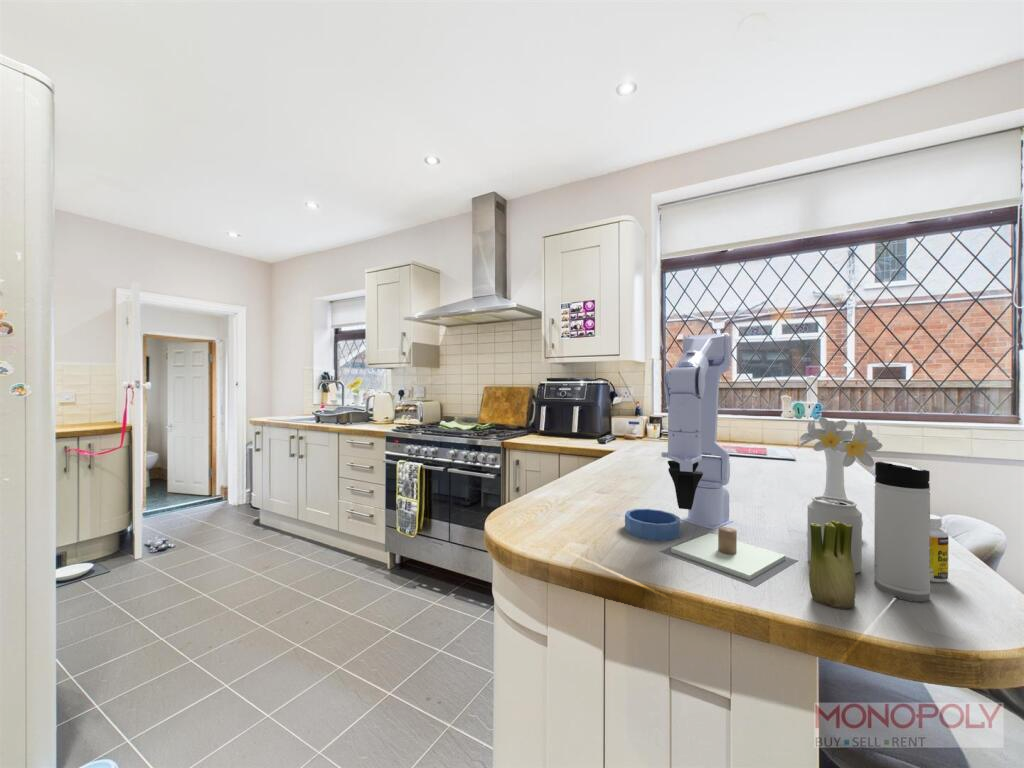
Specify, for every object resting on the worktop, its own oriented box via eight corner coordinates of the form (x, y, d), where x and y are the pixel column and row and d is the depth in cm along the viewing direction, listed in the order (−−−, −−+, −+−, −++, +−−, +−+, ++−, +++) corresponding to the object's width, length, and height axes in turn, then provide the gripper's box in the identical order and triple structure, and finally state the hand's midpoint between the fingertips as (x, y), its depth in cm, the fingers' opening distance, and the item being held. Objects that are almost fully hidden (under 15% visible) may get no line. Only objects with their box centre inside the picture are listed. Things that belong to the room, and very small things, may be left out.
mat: (706, 535, 88) (706, 533, 88) (798, 562, 75) (798, 560, 75) (659, 553, 78) (659, 551, 78) (755, 589, 64) (755, 586, 64)
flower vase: (837, 551, 80) (838, 421, 80) (782, 520, 99) (782, 415, 99) (909, 553, 79) (909, 422, 79) (840, 522, 98) (840, 416, 98)
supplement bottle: (943, 587, 66) (943, 522, 66) (897, 573, 71) (897, 513, 71) (952, 578, 69) (952, 516, 69) (907, 566, 74) (907, 508, 74)
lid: (709, 536, 86) (710, 513, 86) (785, 559, 75) (785, 533, 75) (671, 552, 78) (671, 526, 78) (749, 580, 67) (749, 550, 67)
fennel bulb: (810, 607, 60) (810, 523, 60) (804, 592, 64) (805, 514, 64) (861, 617, 57) (862, 530, 57) (852, 601, 61) (852, 520, 61)
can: (870, 581, 68) (870, 507, 68) (815, 573, 70) (815, 502, 70) (850, 563, 75) (851, 496, 75) (801, 557, 77) (801, 492, 77)
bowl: (645, 522, 97) (646, 506, 97) (690, 536, 88) (690, 518, 88) (615, 531, 90) (615, 514, 90) (659, 547, 82) (659, 528, 82)
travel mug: (861, 583, 67) (862, 459, 67) (899, 582, 67) (899, 459, 68) (901, 603, 61) (901, 466, 61) (942, 602, 61) (942, 466, 61)
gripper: (661, 426, 86) (661, 491, 86) (661, 433, 73) (661, 511, 73) (698, 427, 84) (698, 495, 84) (706, 435, 70) (705, 516, 70)
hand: (683, 503), depth 78 cm, fingers open, 7 cm apart
